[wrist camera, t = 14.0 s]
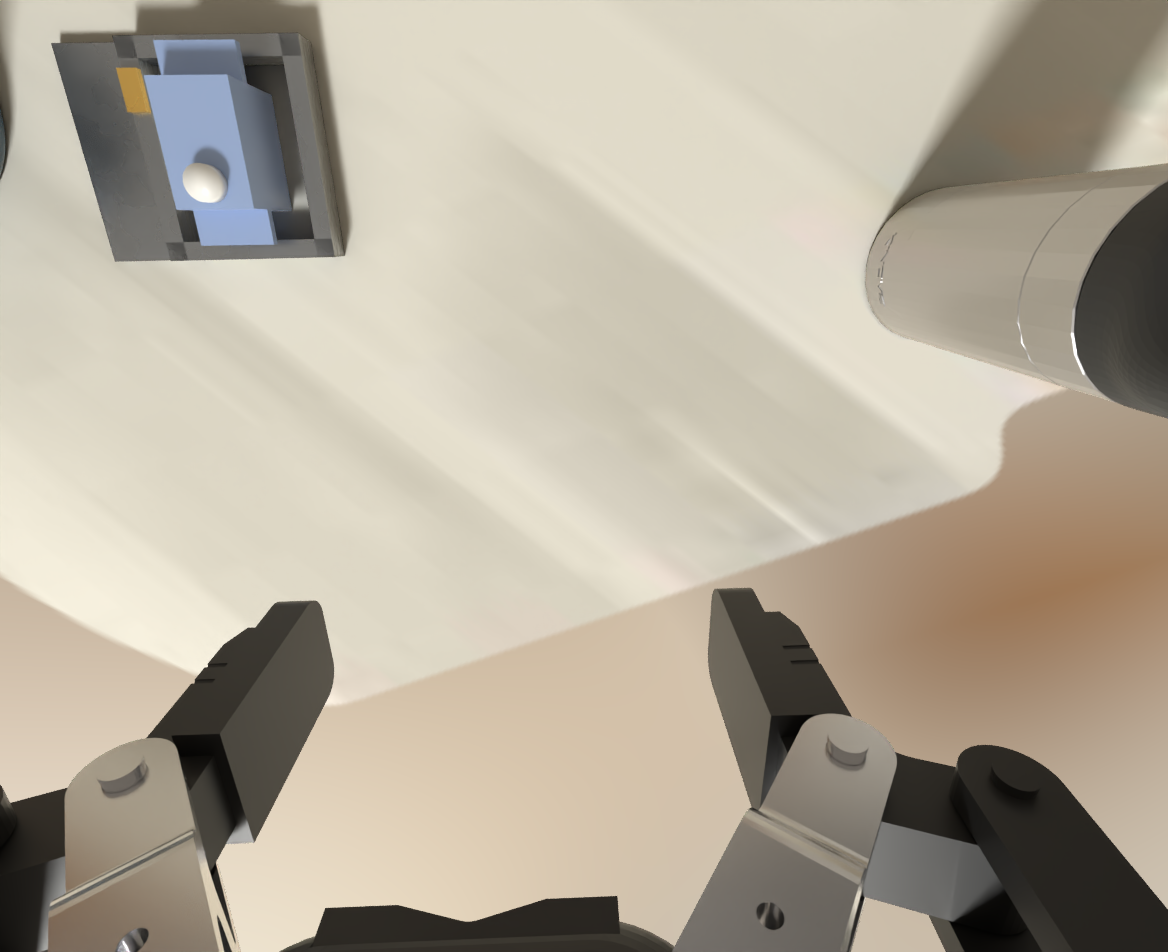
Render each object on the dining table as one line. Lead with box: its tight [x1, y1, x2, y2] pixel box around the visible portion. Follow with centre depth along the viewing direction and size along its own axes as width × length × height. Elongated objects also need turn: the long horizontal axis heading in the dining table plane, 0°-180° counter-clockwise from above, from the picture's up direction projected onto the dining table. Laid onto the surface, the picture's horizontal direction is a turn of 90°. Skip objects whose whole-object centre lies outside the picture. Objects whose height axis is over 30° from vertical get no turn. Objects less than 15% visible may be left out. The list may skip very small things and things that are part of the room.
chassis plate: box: [51, 33, 345, 261], centre depth 34 cm, size 14×11×2 cm
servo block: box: [144, 39, 292, 246], centre depth 33 cm, size 4×10×6 cm, turn 1°
